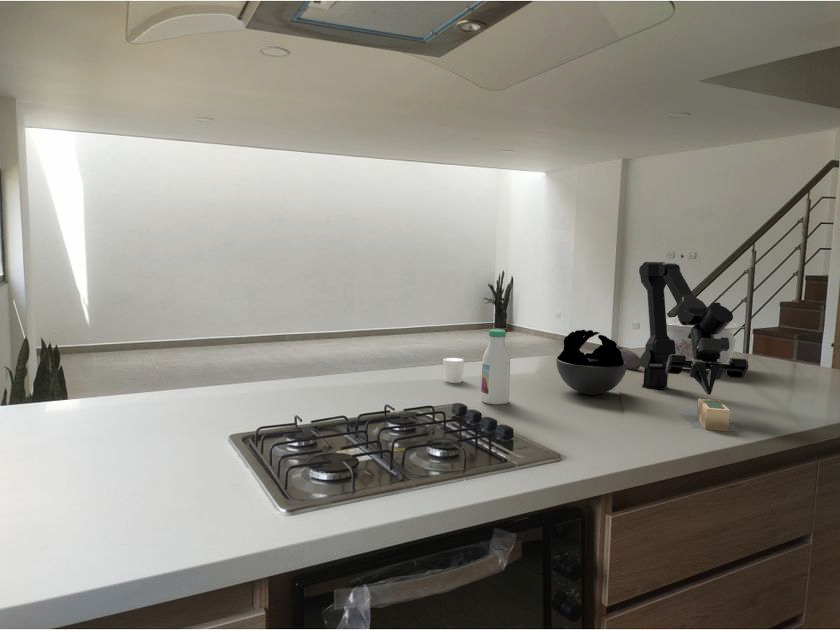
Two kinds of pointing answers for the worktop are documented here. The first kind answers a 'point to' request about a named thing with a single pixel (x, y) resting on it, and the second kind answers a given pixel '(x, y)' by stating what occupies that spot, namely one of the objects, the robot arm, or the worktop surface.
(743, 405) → the worktop surface
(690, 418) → the slate mat
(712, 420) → the letter block
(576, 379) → the coal bowl
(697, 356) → the robot arm
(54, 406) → the worktop surface
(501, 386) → the milk bottle
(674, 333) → the chamber pot
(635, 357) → the perforated stone tool
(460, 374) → the white cup
